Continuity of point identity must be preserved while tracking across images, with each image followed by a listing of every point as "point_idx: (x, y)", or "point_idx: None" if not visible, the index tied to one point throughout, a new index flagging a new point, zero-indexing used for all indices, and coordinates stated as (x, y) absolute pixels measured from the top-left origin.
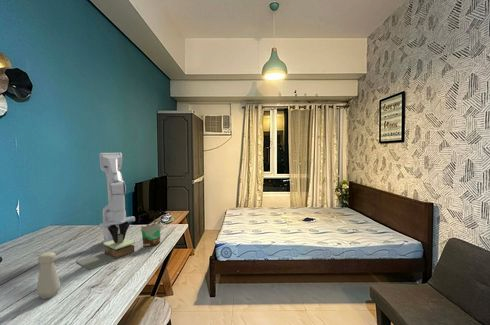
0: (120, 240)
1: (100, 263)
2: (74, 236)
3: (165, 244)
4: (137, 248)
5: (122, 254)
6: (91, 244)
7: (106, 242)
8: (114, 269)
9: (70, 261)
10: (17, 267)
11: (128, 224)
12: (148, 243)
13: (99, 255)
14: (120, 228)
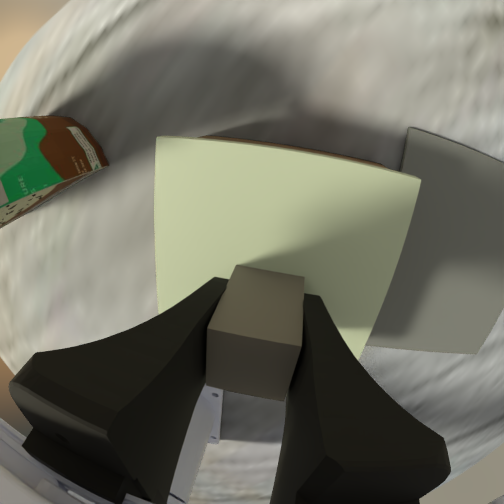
0: (266, 287)
1: (491, 192)
2: (240, 500)
3: (25, 83)
4: (145, 186)
5: (324, 154)
6: (263, 452)
7: None
8: (494, 28)
9: (464, 378)
10: (494, 439)
11: (25, 380)
12: (70, 133)
13: (387, 324)
14: (177, 437)
